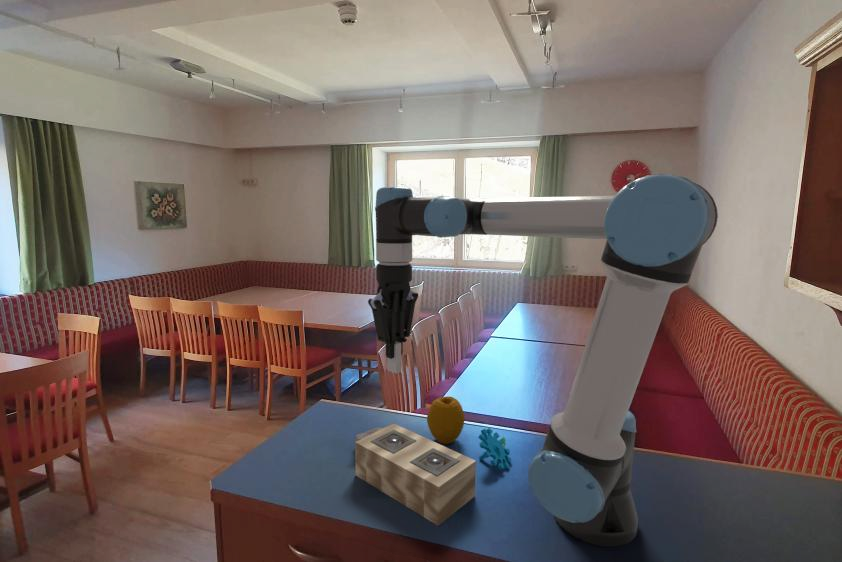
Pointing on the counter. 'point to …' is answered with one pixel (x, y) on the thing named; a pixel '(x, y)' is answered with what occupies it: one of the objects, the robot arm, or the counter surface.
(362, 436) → the stone
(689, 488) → the counter surface
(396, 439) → the steel peg far
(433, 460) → the steel peg near
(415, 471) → the socket block
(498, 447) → the teal knobby branched piece
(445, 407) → the apple
